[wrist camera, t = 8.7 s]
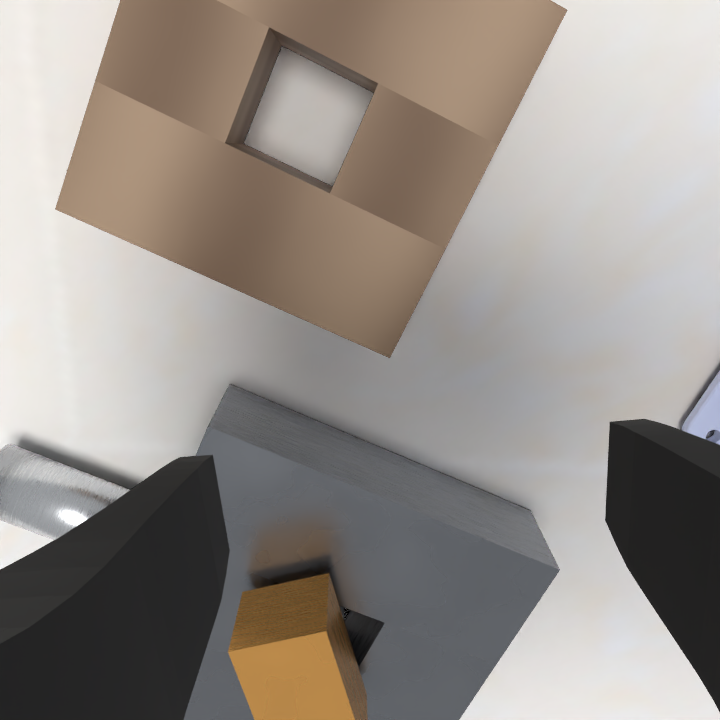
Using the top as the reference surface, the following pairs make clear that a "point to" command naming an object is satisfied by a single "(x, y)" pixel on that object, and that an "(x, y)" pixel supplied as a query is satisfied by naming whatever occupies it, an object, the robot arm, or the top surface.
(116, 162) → the holder
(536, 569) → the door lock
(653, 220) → the top surface
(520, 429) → the top surface
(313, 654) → the orange wooden block
